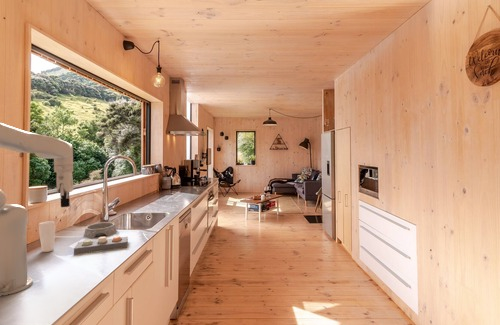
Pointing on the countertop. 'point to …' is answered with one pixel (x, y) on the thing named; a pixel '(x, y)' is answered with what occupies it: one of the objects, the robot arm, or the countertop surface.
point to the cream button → (102, 240)
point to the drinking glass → (47, 235)
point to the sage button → (87, 242)
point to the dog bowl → (100, 229)
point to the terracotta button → (116, 239)
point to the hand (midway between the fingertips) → (65, 206)
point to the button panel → (100, 246)
